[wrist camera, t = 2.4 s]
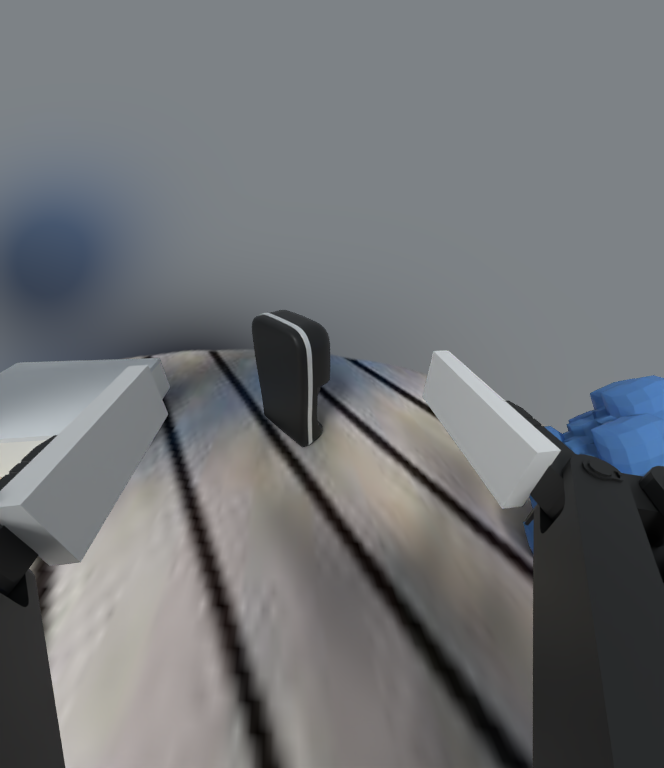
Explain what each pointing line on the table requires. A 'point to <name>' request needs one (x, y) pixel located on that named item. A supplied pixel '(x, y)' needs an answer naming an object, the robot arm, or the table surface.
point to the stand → (54, 399)
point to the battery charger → (291, 371)
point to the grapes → (619, 429)
